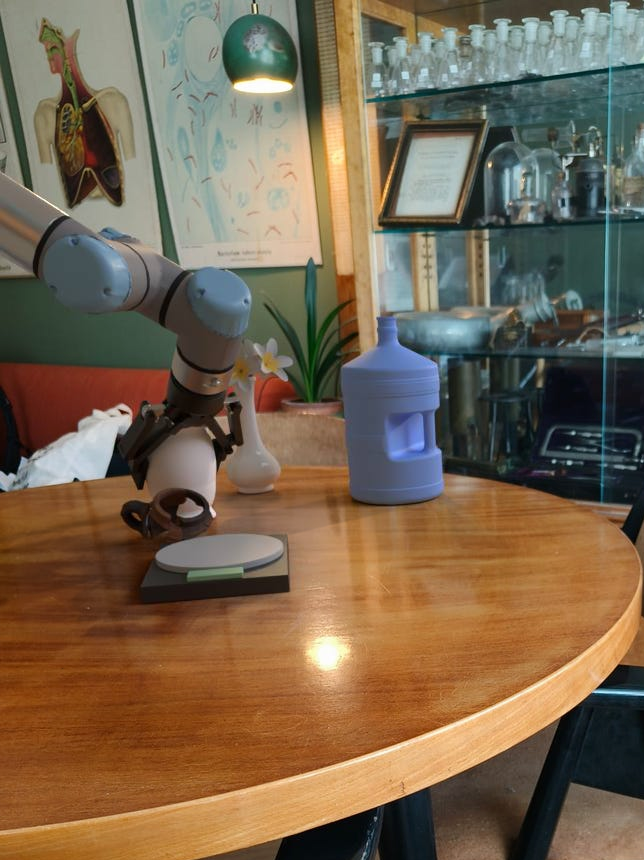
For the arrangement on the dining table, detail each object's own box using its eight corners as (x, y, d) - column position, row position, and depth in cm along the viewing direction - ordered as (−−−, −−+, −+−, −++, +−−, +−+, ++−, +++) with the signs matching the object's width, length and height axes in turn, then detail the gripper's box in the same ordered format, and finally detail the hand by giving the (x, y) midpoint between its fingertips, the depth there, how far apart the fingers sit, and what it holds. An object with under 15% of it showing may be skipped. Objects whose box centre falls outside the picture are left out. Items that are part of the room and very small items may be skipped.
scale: (142, 604, 97) (138, 580, 96) (163, 558, 115) (160, 537, 114) (290, 591, 100) (287, 567, 99) (288, 548, 118) (286, 527, 117)
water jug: (332, 503, 143) (316, 319, 133) (377, 484, 156) (365, 316, 146) (420, 508, 137) (410, 317, 127) (458, 488, 151) (452, 314, 141)
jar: (154, 531, 128) (136, 426, 123) (148, 516, 137) (131, 418, 131) (228, 522, 132) (215, 420, 127) (217, 509, 141) (204, 412, 135)
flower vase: (200, 487, 158) (179, 339, 149) (305, 480, 161) (290, 335, 152) (192, 502, 146) (169, 343, 137) (305, 495, 149) (290, 339, 140)
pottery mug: (209, 531, 129) (216, 487, 124) (206, 575, 123) (214, 530, 117) (121, 518, 125) (125, 471, 119) (113, 563, 119) (117, 516, 113)
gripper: (122, 406, 110) (105, 509, 127) (290, 390, 123) (254, 485, 140) (101, 360, 112) (87, 467, 129) (268, 349, 125) (236, 448, 142)
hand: (174, 477), depth 134 cm, fingers closed on jar, 11 cm apart
